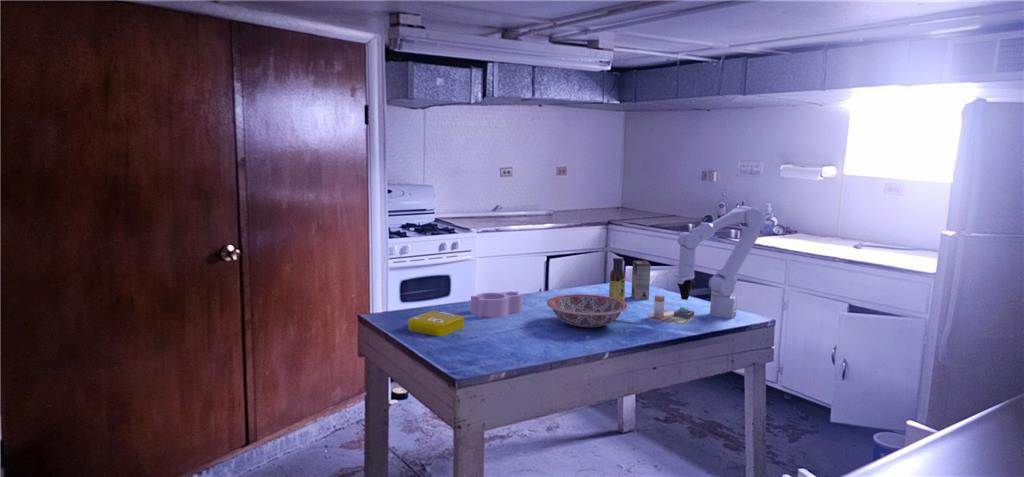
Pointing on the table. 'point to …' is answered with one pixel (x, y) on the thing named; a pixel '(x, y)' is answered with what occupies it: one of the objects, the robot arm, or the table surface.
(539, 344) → the table surface
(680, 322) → the beige flat square board
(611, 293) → the sauce bottle
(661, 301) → the cylinder
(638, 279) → the coffee box
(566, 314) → the ceramic bowl
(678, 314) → the button housing
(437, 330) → the element tile
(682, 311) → the button
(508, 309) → the pink lobed tray
